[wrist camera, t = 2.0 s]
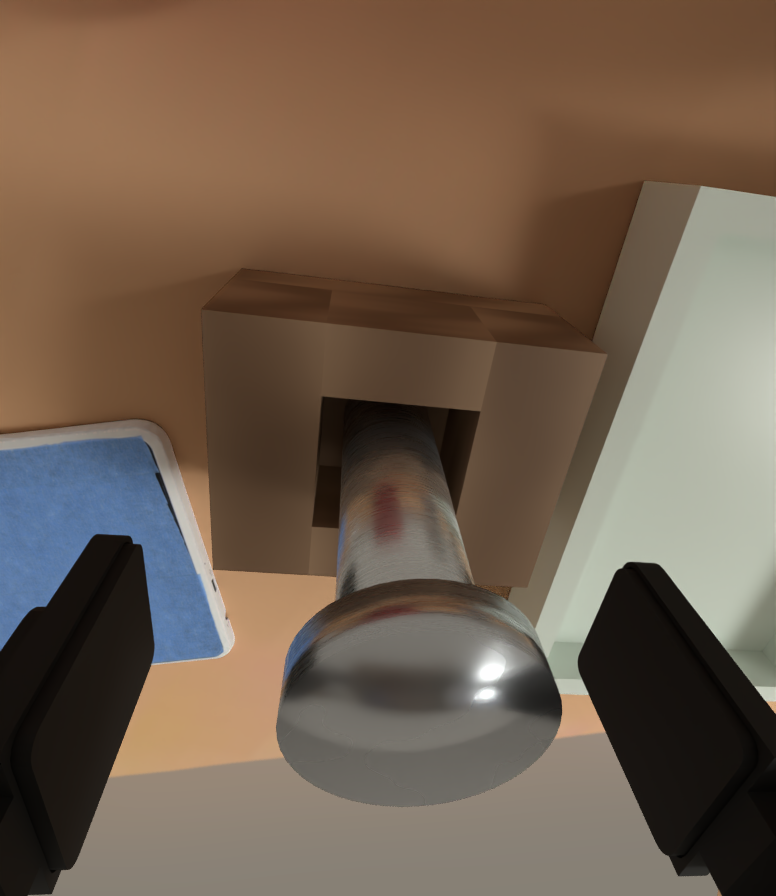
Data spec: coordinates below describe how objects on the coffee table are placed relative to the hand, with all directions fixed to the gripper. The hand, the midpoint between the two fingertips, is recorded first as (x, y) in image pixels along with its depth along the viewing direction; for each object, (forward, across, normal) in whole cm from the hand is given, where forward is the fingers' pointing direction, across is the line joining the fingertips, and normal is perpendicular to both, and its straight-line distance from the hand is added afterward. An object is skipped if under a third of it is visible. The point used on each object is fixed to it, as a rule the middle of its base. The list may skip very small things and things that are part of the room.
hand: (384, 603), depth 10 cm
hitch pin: (+8, -1, 0) cm, 8 cm away
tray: (+10, -15, +2) cm, 18 cm away
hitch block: (+10, -1, 0) cm, 10 cm away
